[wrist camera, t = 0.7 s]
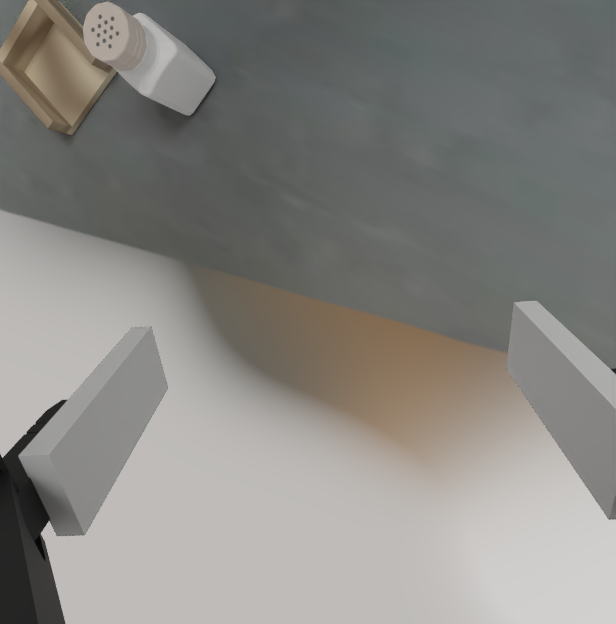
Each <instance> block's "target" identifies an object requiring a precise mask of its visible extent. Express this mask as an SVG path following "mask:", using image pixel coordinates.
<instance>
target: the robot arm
mask: <svg viewBox="0 0 616 624" xmlns="http://www.w3.org/2000/svg"><path fill="white" fill-rule="evenodd" d="M506 369H507V371H508V372H509V374H510V375H511V377H512V378H513V380H514V381H515V383H516V384H517V385H518V387H519V388H520V390H521V391H522V393H523V394H524V396H525V397H526V399H527V400H528V402H529V403H530V405H531V406H532V408H533V409H534V410H535V412H536V413H537V415H538V416H539V418H540V419H541V421H542V422H543V424H544V425H545V427H546V428H547V430H548V431H549V432H550V434H551V435H552V437H553V438H554V440H555V441H556V443H557V444H558V446H559V447H560V449H561V450H562V452H563V453H564V454H565V456H566V457H567V459H568V460H569V462H570V463H571V465H572V466H573V468H574V469H575V471H576V472H577V473H578V475H579V477H580V478H581V479H582V481H583V482H584V484H585V485H586V487H587V488H588V490H589V491H590V493H591V494H592V495H593V497H594V499H595V500H596V501H597V503H598V504H599V506H600V507H601V509H602V510H603V511H604V513H605V515H606V516H607V518H608V519H616V369H609V368H608V367H607V366H606V365H605V364H604V363H603V362H602V361H601V360H600V359H599V358H598V357H597V356H595V355H594V354H593V353H592V352H591V351H590V350H589V349H588V348H587V347H586V346H585V345H584V344H583V343H581V342H580V341H579V340H578V339H577V338H576V337H575V336H574V335H573V334H572V333H571V332H570V331H569V330H567V329H566V328H565V327H564V326H563V325H562V324H561V323H560V322H559V321H558V320H557V319H556V318H555V317H553V316H552V315H551V314H550V313H549V312H548V311H547V310H546V309H545V308H544V307H543V306H542V305H541V304H540V303H538V302H537V301H525V302H514V306H513V315H512V323H511V332H510V341H509V349H508V358H507V367H506ZM167 389H168V386H167V382H166V378H165V375H164V371H163V367H162V364H161V360H160V356H159V353H158V349H157V346H156V342H155V338H154V335H153V331H152V327H137V328H131V329H130V330H129V331H128V333H126V335H125V336H124V337H123V338H122V339H121V340H120V342H119V343H118V344H117V345H116V346H115V347H114V348H113V350H111V352H110V353H109V354H108V355H107V356H106V357H105V358H104V360H103V361H102V362H101V363H100V364H99V365H98V366H97V367H96V369H95V370H94V371H93V372H92V373H91V374H90V375H89V376H88V378H87V379H86V380H85V381H84V382H83V383H82V384H81V386H80V387H79V388H78V389H77V390H76V391H75V392H74V393H73V395H72V396H71V397H70V398H69V399H68V400H62V401H60V402H59V403H57V404H56V405H54V406H53V407H51V408H50V409H48V410H47V411H46V412H45V413H44V414H43V415H42V416H41V417H40V418H39V419H38V420H37V421H36V424H35V425H33V426H32V427H31V428H30V429H29V430H28V431H27V434H26V435H24V436H23V437H22V438H21V439H20V440H19V441H18V442H17V443H16V444H15V445H14V447H12V449H11V450H10V451H9V452H8V453H7V454H6V455H5V456H4V457H3V458H2V457H1V455H0V624H65V620H64V617H63V612H62V609H61V605H60V600H59V596H58V592H57V588H56V585H55V581H54V577H53V573H52V569H51V565H50V561H49V557H48V553H47V549H46V545H45V541H44V540H43V538H42V536H41V534H40V533H41V532H42V530H43V529H44V527H45V526H46V524H47V523H48V521H50V523H51V525H52V527H53V529H54V531H55V533H56V535H57V536H71V535H72V536H74V535H85V534H86V532H87V530H88V528H89V527H90V525H91V523H92V522H93V520H94V518H95V516H96V514H97V513H98V511H99V509H100V507H101V506H102V504H103V502H104V500H105V499H106V497H107V495H108V493H109V491H110V490H111V488H112V486H113V484H114V483H115V481H116V479H117V477H118V476H119V474H120V472H121V470H122V469H123V467H124V465H125V463H126V461H127V459H128V458H129V456H130V454H131V452H132V450H133V449H134V447H135V445H136V443H137V442H138V440H139V438H140V437H141V435H142V433H143V431H144V429H145V428H146V426H147V424H148V422H149V421H150V419H151V417H152V415H153V414H154V412H155V410H156V408H157V407H158V405H159V403H160V401H161V399H162V398H163V396H164V394H165V392H166V391H167Z"/></svg>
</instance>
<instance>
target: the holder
mask: <svg viewBox="0 0 616 624" xmlns="http://www.w3.org/2000/svg"><path fill="white" fill-rule="evenodd" d="M116 72H117V71H116V70H115V69H114V68H113V67H112V66H110V65H108V64H106V63H104V62H102V61H100V60H99V59H97V58H95V57H93V56H92V55H91V53H90V52H89V50H88V48H87V47H86V45H85V43H84V35H83V26H82V25H81V24H80V23H79V22H78V21H77V19H76V18H75V17H74V16H73V15H72V14H71V13H70V12H69V10H68V9H67V8H66V7H65V6H64V5H63V4H62V3H60V2H59V1H57V0H29V1H28V3H27V4H26V6H25V8H24V9H23V11H22V13H21V15H20V16H19V18H18V20H17V21H16V23H15V25H14V26H13V28H12V30H11V32H10V33H9V35H8V37H7V38H6V40H5V42H4V43H3V45H2V47H1V49H0V75H1V76H2V77H3V78H4V79H5V80H6V81H7V83H8V84H9V85H10V86H11V87H12V88H13V89H14V91H15V92H16V93H17V94H18V95H19V96H20V97H21V99H22V100H23V101H24V102H25V103H26V104H27V105H28V107H29V108H30V109H31V110H32V111H33V112H34V113H35V115H36V116H37V117H38V118H39V119H40V120H41V121H42V123H43V124H44V125H45V126H46V127H47V128H48V129H51V130H55V131H58V132H62V133H66V134H70V135H73V134H74V132H75V131H76V129H77V128H78V126H79V125H80V124H81V122H82V121H83V119H84V118H85V117H86V115H87V114H88V112H89V111H90V109H91V108H92V107H93V105H94V104H95V102H96V101H97V99H98V98H99V97H100V95H101V94H102V92H103V91H104V89H105V88H106V87H107V85H108V84H109V82H110V81H111V80H112V78H113V77H114V75H115V74H116Z"/></svg>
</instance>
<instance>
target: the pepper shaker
mask: <svg viewBox="0 0 616 624" xmlns="http://www.w3.org/2000/svg"><path fill="white" fill-rule="evenodd" d="M83 35H84V43H85V45H86V47H87V48H88V50H89V52H90V53H91V55H92V56H93V57H95V58H97V59H99V60H100V61H102V62H104V63H106V64H108V65H110V66H112V67H113V68H114V69H115V70H116V71H117V72H118V73H119V74H120V75H121V76H122V77H123V78H124V79H125V80H126V81H127V82H128V83H129V84H130V85H131V86H132V87H134V88H135V89H136V90H137V91H138V92H139V93H140V94H141V95H143V96H146V97H148V98H150V99H152V100H154V101H156V102H158V103H160V104H163V105H165V106H167V107H169V108H171V109H173V110H175V111H177V112H180V113H182V114H184V115H187V116H189V115H191V114H192V113H194V111H195V110H196V108H197V107H198V106H199V104H200V103H201V101H202V100H203V98H204V97H205V95H206V94H207V92H208V91H209V90H210V88H211V87H212V85H213V84H214V82H215V78H216V77H215V75H214V73H213V71H212V69H210V68H209V67H208V66H207V65H206V64H205V63H204V62H203V61H202V60H201V59H200V58H199V57H198V56H197V55H196V54H195V53H194V52H193V51H192V50H191V49H189V48H188V47H187V46H186V45H185V44H184V43H182V42H181V41H180V40H178V39H177V38H176V37H174V36H173V35H172V34H170V33H169V32H168V31H167V30H165V29H164V28H163V27H161V26H160V25H159V24H157V23H156V22H155V21H153V20H152V19H151V18H150V17H148V16H147V15H146V14H143V13H137V14H135V15H133V16H132V15H130V14H129V13H128V12H126V11H125V10H123V9H122V8H121V7H119V6H117V5H115V4H113V3H111V2H104V3H99V4H96V5H95V6H94V7H93V8H92V9H91V10H90V11H89V12H88V13H87V15H86V19H85V22H84V26H83Z"/></svg>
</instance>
